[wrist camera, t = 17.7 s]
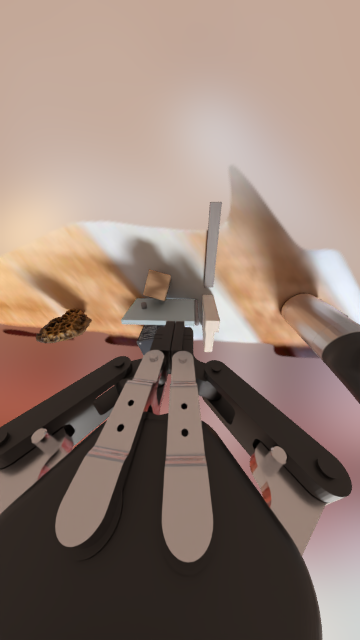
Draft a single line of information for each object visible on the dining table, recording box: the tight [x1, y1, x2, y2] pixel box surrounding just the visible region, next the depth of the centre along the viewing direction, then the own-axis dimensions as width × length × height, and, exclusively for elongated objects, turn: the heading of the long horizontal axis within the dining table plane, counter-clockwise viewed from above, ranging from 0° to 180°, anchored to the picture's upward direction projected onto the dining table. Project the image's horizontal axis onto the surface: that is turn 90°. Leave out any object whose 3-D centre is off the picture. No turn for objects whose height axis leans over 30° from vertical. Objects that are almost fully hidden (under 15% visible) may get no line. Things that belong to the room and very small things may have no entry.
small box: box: [137, 325, 165, 355], centre depth 48 cm, size 11×6×10 cm, turn 104°
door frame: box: [202, 202, 222, 352], centre depth 37 cm, size 3×32×14 cm, turn 1°
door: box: [121, 298, 199, 326], centre depth 41 cm, size 3×18×12 cm, turn 91°
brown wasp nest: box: [36, 309, 92, 343], centre depth 45 cm, size 11×4×15 cm, turn 93°
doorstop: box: [143, 269, 171, 301], centre depth 40 cm, size 5×8×6 cm
